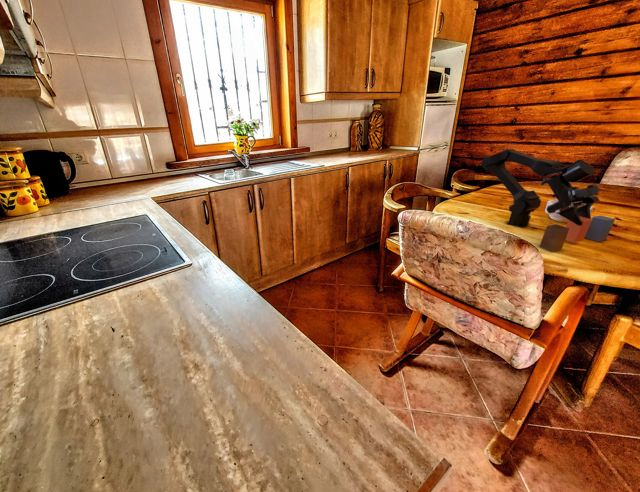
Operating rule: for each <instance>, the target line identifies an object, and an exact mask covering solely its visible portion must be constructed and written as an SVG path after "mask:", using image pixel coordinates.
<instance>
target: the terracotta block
mask: <svg viewBox="0 0 640 492" xmlns="http://www.w3.org/2000/svg"><path fill="white" fill-rule="evenodd" d="M579 217H580V219H581V222H582V225H580V226H578V225H577V224H575V223H573V222H572V221H570V220H569V221H568V223H566V226H565V227H567V228H570V229H569V231H568V234H567V236H566V239H565V241H568V242H571V243H575V244H576V243H579V242H583V241H584V239H585V238H584V237H585V235H586V233H587V231H588V229H589V226H590V224H591V222H592V218H591V219H588V218H585V217H582V216H579Z"/></svg>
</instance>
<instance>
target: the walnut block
mask: <svg viewBox="0 0 640 492" xmlns="http://www.w3.org/2000/svg"><path fill="white" fill-rule="evenodd" d="M569 229H570V228H567V227H566V226H563V225H560V224H558V223H555V224H548V225H546V227H545V230H544V232H543V235H542V237H541V238H542V239H541V241H540V245H539V248H541V249H543V250H546V251H549V252H551V253H555V252H558V251H562V249H563V247H564V245H565V242H566V236H567V234H568V231H569Z"/></svg>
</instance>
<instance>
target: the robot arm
mask: <svg viewBox="0 0 640 492" xmlns="http://www.w3.org/2000/svg"><path fill="white" fill-rule="evenodd" d="M508 161H511V162H513V163H516V164H519V165H522V166H524V167H527V168H528V169H531V171H532V172H533V173H535V174H536V175H538V176H540V177H545V178H542V181H541V183H540V186H546V185H548V187H549V188H550V189H551V191H552V193H553V194H551V196H552V198H555V199H558V202H556V203H554V204H552V205H550V206H547V205H546V206H547V209H546V210H547V211H548V213H549V214H550V213H555V212H556V211H557V210H559V209H560V210H559V211H560V212H558V213H556V214H559V215H561V216H563V217H565V218H567V219H568V220H570V221H572V222H573V223H575V224H577V225H578V226H580V225H582V222H581V219H580V217H579V216H582V217H585V218H588V219H592V216H591V215H590V208H591V206H593V205H595V203H598V202H600V201H601V200H600V198H599V197H598V196H599V192H600V191H601V188H600V187H599V186H598V185H597V184H595V183H594V184H588V185H586V187H585V188H579V187H578V186H573V185H572V183H577V182H579V181H581V180H583V179H586V178H587V177H590V176H592V175H594V173H595V168H594V166H593V165H591V164H590V163H589V162H587V161H584V159H581V158H579V159H577V160H575V161H574V162H572V163H570V164H569V165H565V164H562V162H561V161H560V160H557V159H556V160H555V159H549V158H539V157H536V156H533V155H530V154H527V153H524V152H521V151H518V150H516V149H514V148H509V149H508V148H507V149H504V150H501V151H500V152H497V153H494V154H492V155H489V156H485V157H483V158H482V160H481V167H482V168H483V169H484V170H485V171H487V172H489V173H491V174H493V175H494V176H495V177H496V178H497V179H498V180H499V181H500V183H501V185H503V186H504V187H505V188H506V189H507V191H508V192H509V194H511V195H512V197H513V204H512V205H509V206H508V211H509V212H510V216H509V219H508V221H507V223H506V225H511V226H515V227H520V228H525V227H527V226H528V225H529V224H530V221H531V218H532V215H531V213H533V212H535V211H536V210H537V209H539V208H540V206H541V204H542V200H541V196H540V195H538V194H537V192H536V191H535V190H527V189H525V188H524V186H522V185H521V183H520V182H519V181H518V180H517V179H516V178H515V177H514V176H513V174H511V172H510V171H509V170H508V169H507V168H506V162H508ZM547 176H549V177H547ZM526 190H527V191H526ZM548 213H547V214H548ZM549 214H548V215H549ZM591 223H592V222H591Z"/></svg>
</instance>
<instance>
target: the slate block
mask: <svg viewBox="0 0 640 492" xmlns="http://www.w3.org/2000/svg"><path fill="white" fill-rule="evenodd" d="M591 219H592V223H591V224H590V226H589V229H588V231H587V233H586V235H585V237H584V239H587V240H591V241H594V242H596V243H600V242H604V241H607V239H608V236H609V234H610V232H611V229H612V227H613V224H615V221H616V218H612V217H609V216H604V215H596V216H591Z"/></svg>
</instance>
